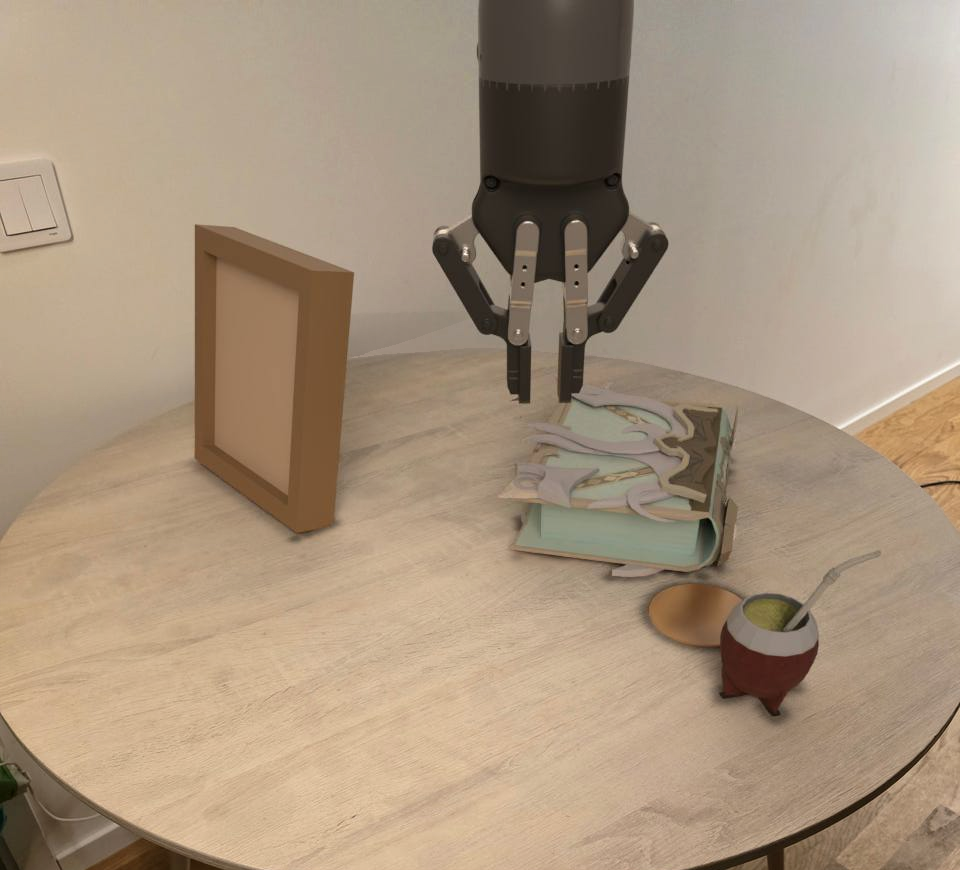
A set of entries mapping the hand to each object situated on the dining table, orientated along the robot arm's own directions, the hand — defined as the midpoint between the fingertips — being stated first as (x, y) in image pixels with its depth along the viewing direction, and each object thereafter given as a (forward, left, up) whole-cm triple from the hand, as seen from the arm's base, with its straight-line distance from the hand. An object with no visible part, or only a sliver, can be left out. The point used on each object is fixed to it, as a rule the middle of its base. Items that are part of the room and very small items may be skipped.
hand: (544, 397), depth 55 cm
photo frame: (+24, -37, -25) cm, 51 cm away
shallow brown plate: (-15, -10, -25) cm, 31 cm away
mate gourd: (-18, 0, -25) cm, 31 cm away
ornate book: (-11, -30, -25) cm, 41 cm away
